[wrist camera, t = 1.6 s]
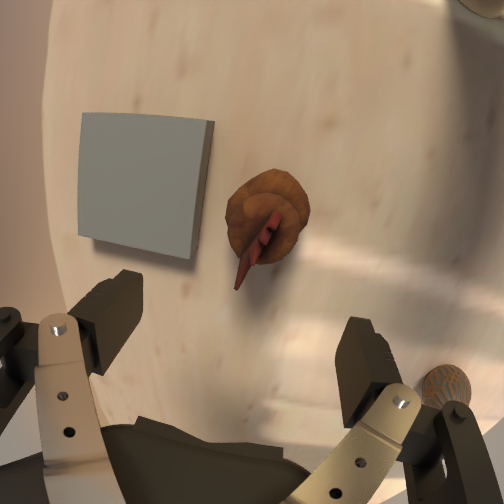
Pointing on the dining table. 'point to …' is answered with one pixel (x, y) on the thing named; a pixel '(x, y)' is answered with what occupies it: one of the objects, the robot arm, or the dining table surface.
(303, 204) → the wooden figurine
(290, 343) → the dining table surface
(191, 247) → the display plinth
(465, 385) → the vase
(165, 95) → the dining table surface
